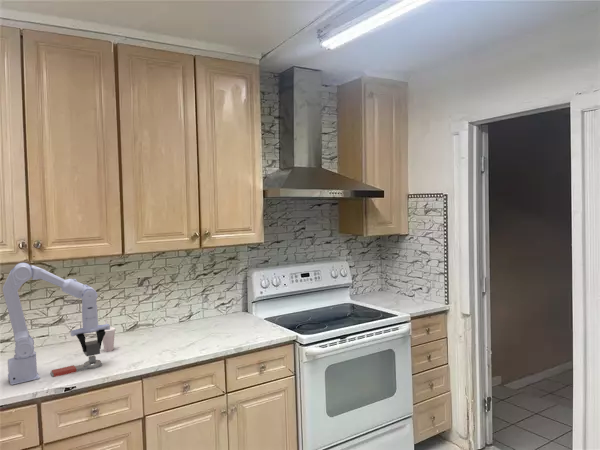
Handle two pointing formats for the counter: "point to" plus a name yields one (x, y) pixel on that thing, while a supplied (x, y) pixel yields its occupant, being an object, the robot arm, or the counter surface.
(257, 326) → the counter surface
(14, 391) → the counter surface
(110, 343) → the smoothie
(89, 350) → the charcoal grey cube
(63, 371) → the ratchet
